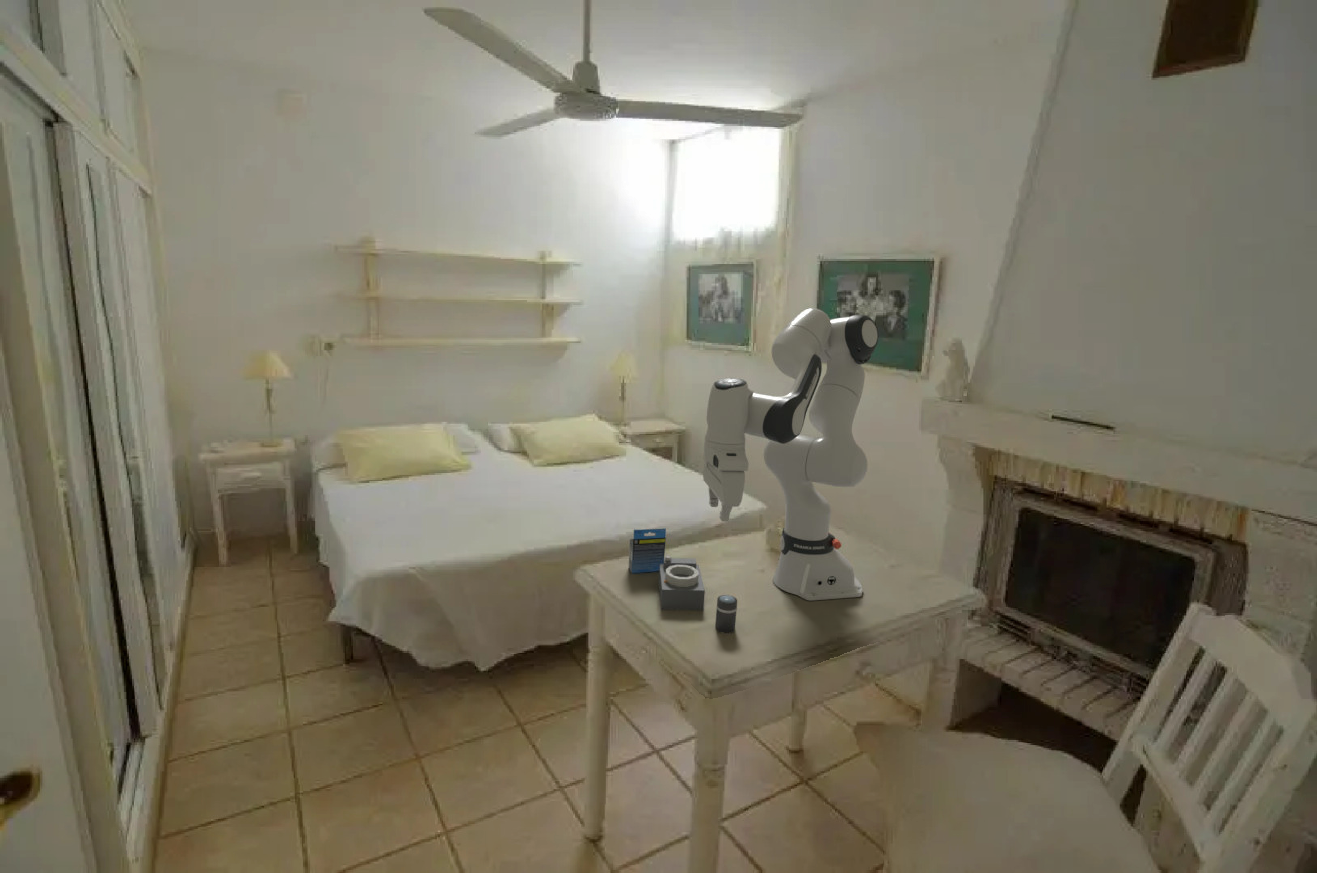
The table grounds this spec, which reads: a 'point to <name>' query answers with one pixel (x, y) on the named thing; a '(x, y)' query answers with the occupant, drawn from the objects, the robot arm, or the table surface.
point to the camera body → (681, 584)
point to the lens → (726, 614)
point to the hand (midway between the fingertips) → (718, 513)
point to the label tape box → (647, 550)
